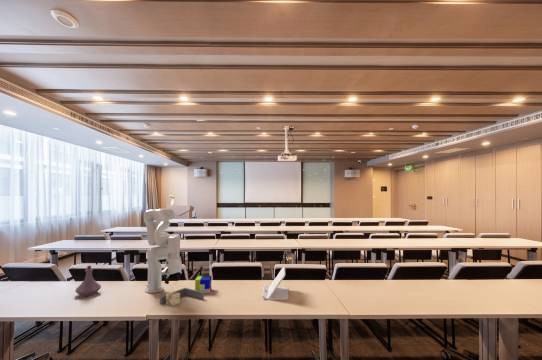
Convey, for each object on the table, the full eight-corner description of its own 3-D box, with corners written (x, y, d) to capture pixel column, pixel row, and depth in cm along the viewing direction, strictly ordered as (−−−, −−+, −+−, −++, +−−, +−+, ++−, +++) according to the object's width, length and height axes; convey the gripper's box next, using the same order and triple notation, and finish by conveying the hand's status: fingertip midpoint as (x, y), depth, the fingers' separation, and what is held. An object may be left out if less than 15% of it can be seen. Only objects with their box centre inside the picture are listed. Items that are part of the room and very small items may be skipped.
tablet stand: (287, 288, 216) (287, 265, 217) (288, 300, 191) (288, 274, 192) (263, 288, 217) (263, 265, 218) (261, 300, 192) (261, 274, 193)
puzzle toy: (209, 293, 204) (209, 279, 204) (195, 294, 203) (195, 279, 204) (211, 289, 214) (211, 275, 214) (197, 289, 213) (198, 275, 214)
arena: (159, 304, 183) (160, 296, 184) (185, 294, 201) (185, 287, 202) (179, 310, 174) (179, 302, 174) (203, 299, 192) (203, 292, 192)
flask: (79, 300, 191) (80, 270, 192) (70, 295, 201) (71, 266, 202) (105, 293, 204) (106, 265, 205) (96, 289, 214) (96, 262, 215)
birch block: (166, 303, 183) (166, 294, 184) (173, 300, 188) (173, 291, 189) (172, 305, 180) (172, 295, 181) (179, 302, 185) (179, 293, 186)
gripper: (166, 258, 177) (165, 286, 176) (187, 253, 191) (187, 279, 191) (158, 257, 181) (157, 284, 180) (180, 252, 195) (179, 277, 195)
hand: (172, 281), depth 185 cm, fingers open, 9 cm apart
